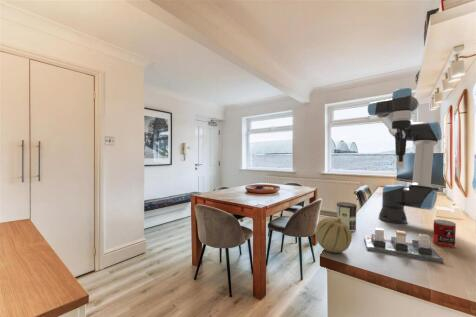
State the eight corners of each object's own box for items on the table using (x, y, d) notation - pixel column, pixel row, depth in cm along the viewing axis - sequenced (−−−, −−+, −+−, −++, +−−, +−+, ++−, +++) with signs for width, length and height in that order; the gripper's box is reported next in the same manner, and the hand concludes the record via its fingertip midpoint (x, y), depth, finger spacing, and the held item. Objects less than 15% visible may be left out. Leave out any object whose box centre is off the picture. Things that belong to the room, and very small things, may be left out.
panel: (364, 239, 110) (364, 221, 110) (430, 249, 99) (430, 229, 99) (367, 250, 97) (367, 230, 97) (443, 263, 86) (444, 240, 86)
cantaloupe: (317, 241, 106) (317, 211, 106) (351, 248, 99) (352, 215, 99) (312, 253, 93) (313, 219, 93) (351, 262, 86) (352, 224, 86)
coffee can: (352, 226, 130) (353, 202, 130) (358, 232, 120) (359, 206, 120) (334, 224, 132) (334, 201, 132) (338, 230, 122) (339, 205, 122)
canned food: (438, 246, 102) (438, 223, 102) (429, 240, 110) (430, 218, 109) (459, 249, 99) (459, 225, 99) (449, 242, 107) (449, 220, 107)
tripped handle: (395, 240, 97) (396, 230, 97) (404, 242, 96) (404, 231, 96) (397, 242, 95) (397, 232, 95) (405, 244, 94) (406, 233, 94)
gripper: (389, 122, 115) (388, 167, 116) (394, 119, 103) (393, 168, 104) (406, 121, 112) (405, 167, 112) (414, 118, 100) (413, 169, 101)
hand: (399, 168), depth 108 cm, fingers closed
